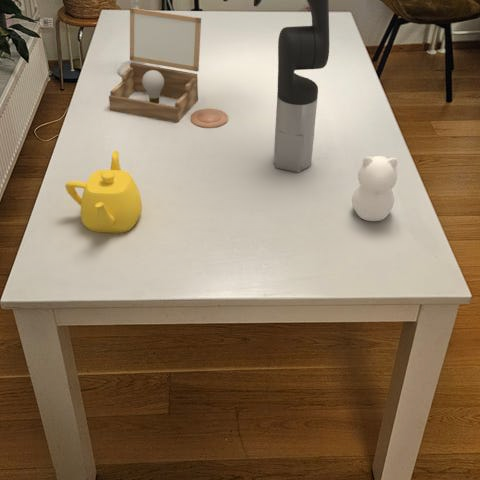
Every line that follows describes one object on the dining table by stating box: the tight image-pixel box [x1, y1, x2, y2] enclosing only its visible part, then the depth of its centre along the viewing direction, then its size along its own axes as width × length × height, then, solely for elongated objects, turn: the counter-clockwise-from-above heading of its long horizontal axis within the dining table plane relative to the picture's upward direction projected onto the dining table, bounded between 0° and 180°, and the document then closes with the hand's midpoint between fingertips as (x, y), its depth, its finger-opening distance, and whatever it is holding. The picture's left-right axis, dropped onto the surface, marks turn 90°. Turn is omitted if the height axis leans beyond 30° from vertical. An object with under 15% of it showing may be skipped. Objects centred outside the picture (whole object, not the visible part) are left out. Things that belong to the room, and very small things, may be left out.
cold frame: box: [108, 63, 199, 123], centre depth 192 cm, size 14×20×8 cm
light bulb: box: [142, 70, 164, 104], centre depth 191 cm, size 6×6×10 cm
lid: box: [129, 7, 202, 72], centre depth 191 cm, size 14×20×1 cm
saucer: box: [189, 108, 229, 129], centre depth 188 cm, size 10×10×1 cm
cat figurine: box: [351, 155, 398, 222], centre depth 151 cm, size 9×12×15 cm
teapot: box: [65, 149, 143, 234], centre depth 148 cm, size 22×16×11 cm
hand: (241, 3), depth 183 cm, fingers open, 8 cm apart
